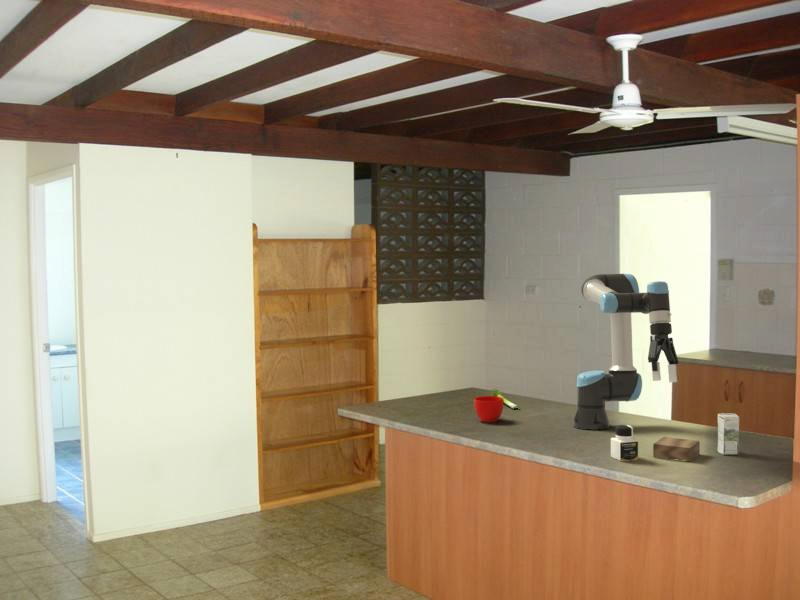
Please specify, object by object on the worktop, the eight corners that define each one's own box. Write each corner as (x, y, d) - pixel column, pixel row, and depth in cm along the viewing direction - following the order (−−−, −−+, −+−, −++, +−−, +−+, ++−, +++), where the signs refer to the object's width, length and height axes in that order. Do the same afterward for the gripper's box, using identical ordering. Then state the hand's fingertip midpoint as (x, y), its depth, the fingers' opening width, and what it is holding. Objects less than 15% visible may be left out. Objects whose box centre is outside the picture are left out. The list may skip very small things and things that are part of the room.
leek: (509, 414, 401) (486, 398, 429) (523, 415, 403) (499, 399, 431) (511, 402, 400) (488, 387, 429) (525, 403, 402) (501, 388, 431)
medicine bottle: (620, 461, 303) (620, 428, 302) (610, 457, 310) (610, 424, 309) (638, 460, 305) (638, 427, 304) (627, 455, 311) (627, 423, 311)
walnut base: (653, 457, 308) (653, 443, 307) (663, 450, 319) (663, 436, 318) (689, 462, 301) (690, 448, 300) (699, 454, 311) (699, 440, 311)
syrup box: (732, 451, 315) (732, 412, 314) (739, 455, 309) (739, 415, 308) (716, 451, 315) (717, 412, 314) (723, 455, 309) (723, 416, 308)
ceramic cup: (503, 416, 386) (503, 394, 386) (504, 424, 370) (503, 401, 369) (474, 416, 388) (474, 394, 387) (474, 424, 371) (473, 401, 370)
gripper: (655, 319, 301) (659, 379, 298) (684, 325, 320) (689, 382, 316) (635, 321, 306) (639, 380, 302) (665, 327, 325) (670, 383, 321)
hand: (665, 381), depth 309 cm, fingers open, 13 cm apart
